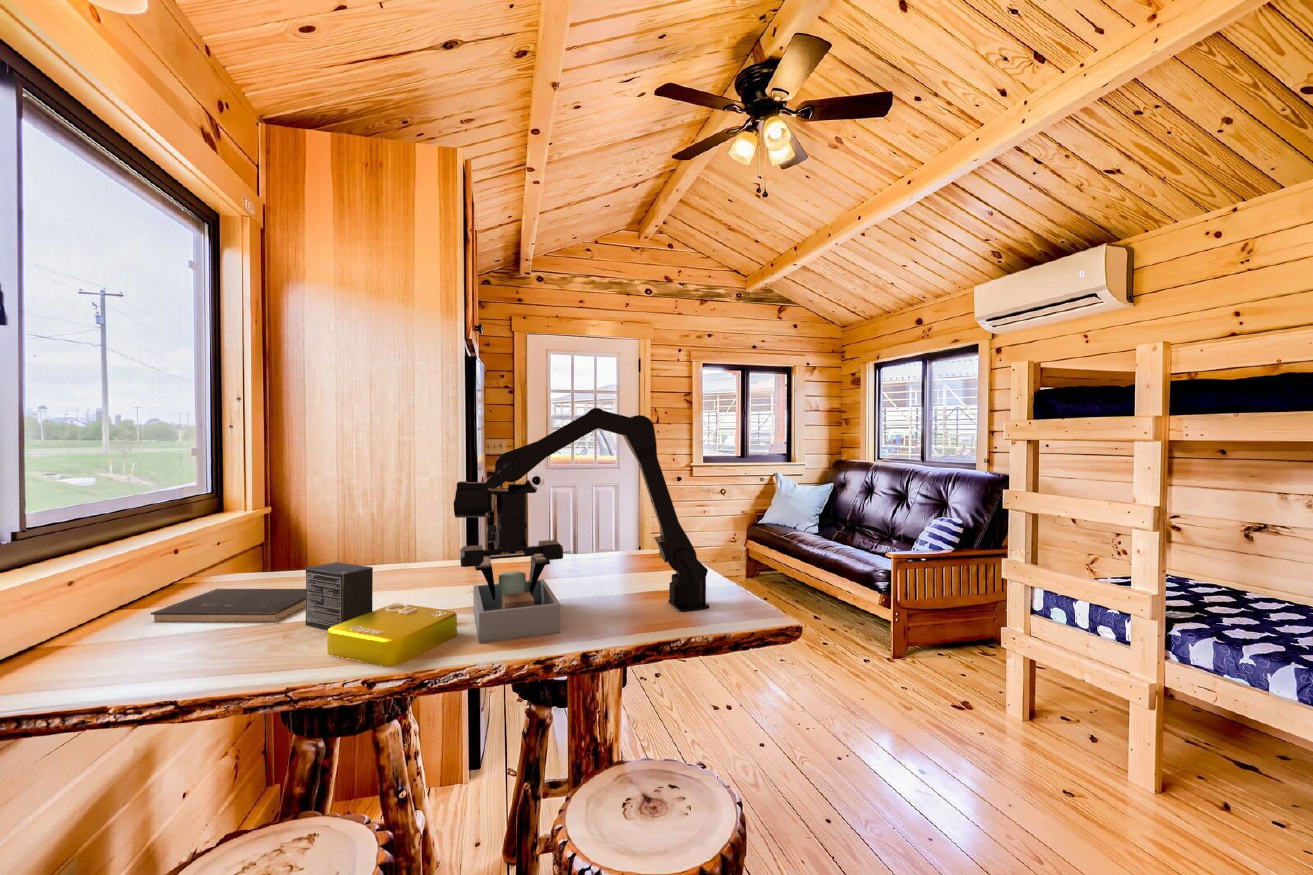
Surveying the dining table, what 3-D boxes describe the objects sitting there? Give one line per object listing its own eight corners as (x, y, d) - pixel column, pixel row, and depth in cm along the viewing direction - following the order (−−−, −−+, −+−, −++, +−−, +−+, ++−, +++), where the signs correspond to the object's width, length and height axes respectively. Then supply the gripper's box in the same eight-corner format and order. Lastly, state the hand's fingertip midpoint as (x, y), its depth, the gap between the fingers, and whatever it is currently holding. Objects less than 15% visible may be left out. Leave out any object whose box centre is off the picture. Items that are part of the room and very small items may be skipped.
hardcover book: (274, 625, 103) (274, 613, 102) (150, 625, 103) (150, 612, 103) (326, 598, 119) (326, 587, 118) (219, 598, 119) (219, 587, 119)
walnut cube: (529, 619, 103) (529, 592, 103) (534, 628, 98) (534, 599, 98) (501, 622, 101) (501, 594, 101) (504, 631, 96) (504, 603, 96)
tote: (543, 603, 114) (543, 579, 114) (560, 632, 98) (560, 604, 98) (473, 611, 109) (473, 585, 109) (479, 643, 93) (479, 613, 93)
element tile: (321, 656, 88) (320, 626, 88) (396, 625, 102) (396, 599, 102) (393, 671, 83) (393, 639, 83) (462, 636, 97) (462, 608, 97)
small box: (375, 622, 103) (375, 565, 102) (342, 634, 97) (342, 574, 97) (337, 614, 107) (337, 560, 107) (303, 625, 101) (303, 567, 101)
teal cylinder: (523, 606, 110) (523, 570, 110) (527, 613, 106) (527, 576, 106) (497, 608, 109) (497, 573, 109) (500, 616, 104) (500, 579, 104)
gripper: (552, 508, 118) (553, 582, 118) (459, 513, 111) (459, 591, 111) (563, 516, 107) (563, 596, 108) (460, 521, 101) (461, 607, 101)
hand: (512, 597), depth 107 cm, fingers open, 6 cm apart
